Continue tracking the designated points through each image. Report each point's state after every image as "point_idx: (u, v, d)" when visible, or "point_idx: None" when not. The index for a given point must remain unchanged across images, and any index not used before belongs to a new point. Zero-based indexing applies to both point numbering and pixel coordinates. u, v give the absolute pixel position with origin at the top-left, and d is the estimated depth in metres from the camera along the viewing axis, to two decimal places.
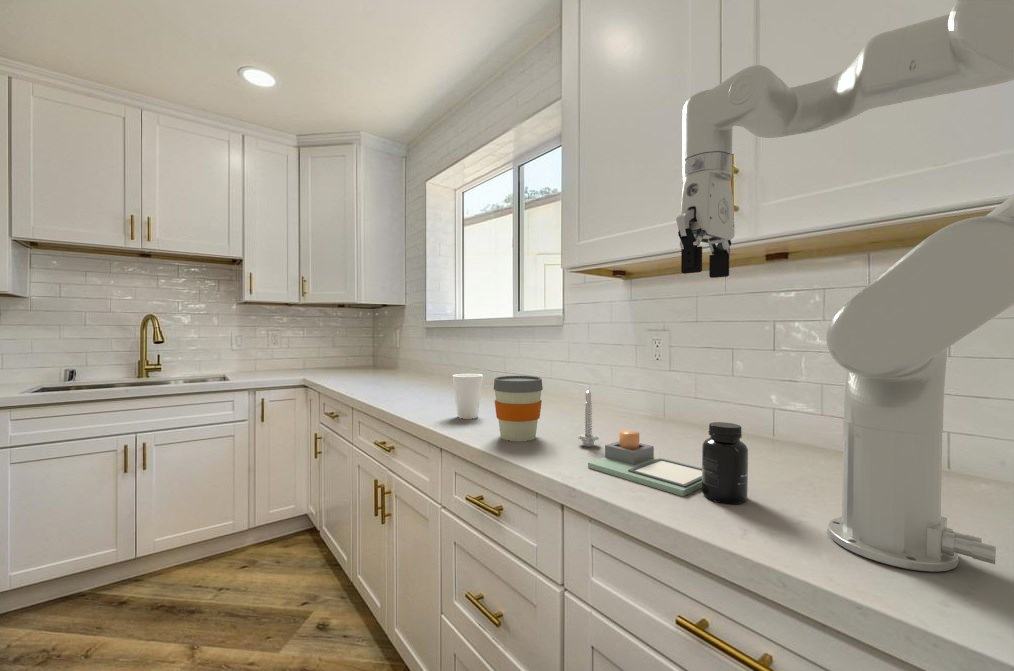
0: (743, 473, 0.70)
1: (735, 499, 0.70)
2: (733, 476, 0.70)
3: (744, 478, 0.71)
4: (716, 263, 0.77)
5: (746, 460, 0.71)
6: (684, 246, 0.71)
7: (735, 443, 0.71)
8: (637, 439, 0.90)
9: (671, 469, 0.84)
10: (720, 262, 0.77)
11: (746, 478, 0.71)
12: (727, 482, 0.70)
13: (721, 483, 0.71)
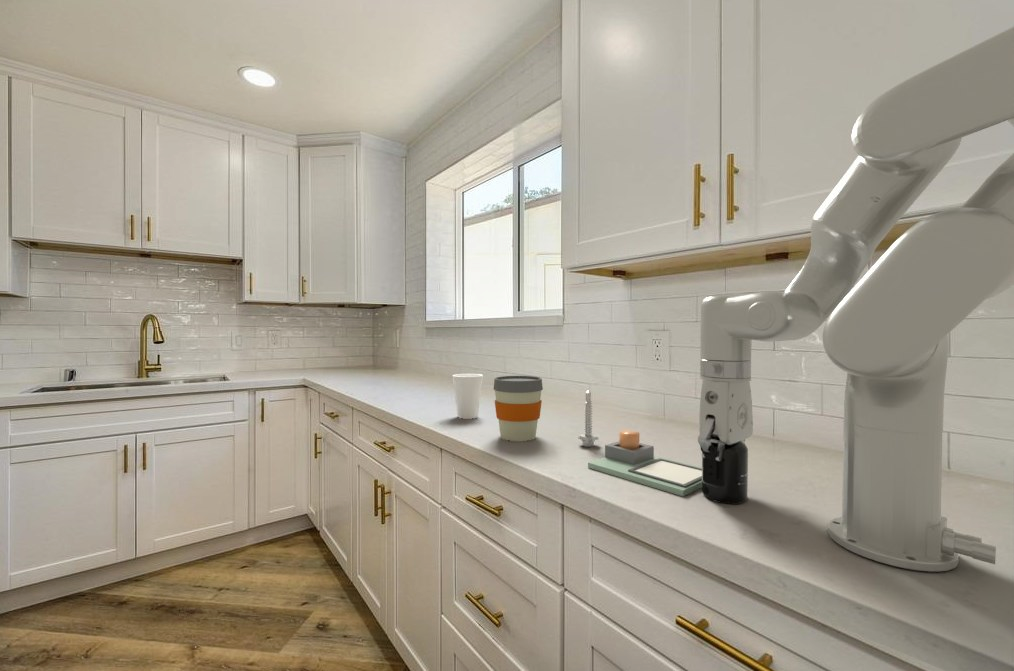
0: (743, 473, 0.70)
1: (735, 499, 0.70)
2: (733, 476, 0.70)
3: (744, 477, 0.71)
4: None
5: (746, 460, 0.71)
6: (706, 458, 0.71)
7: (735, 443, 0.71)
8: (637, 439, 0.90)
9: (671, 469, 0.84)
10: None
11: (746, 478, 0.71)
12: (727, 482, 0.70)
13: None
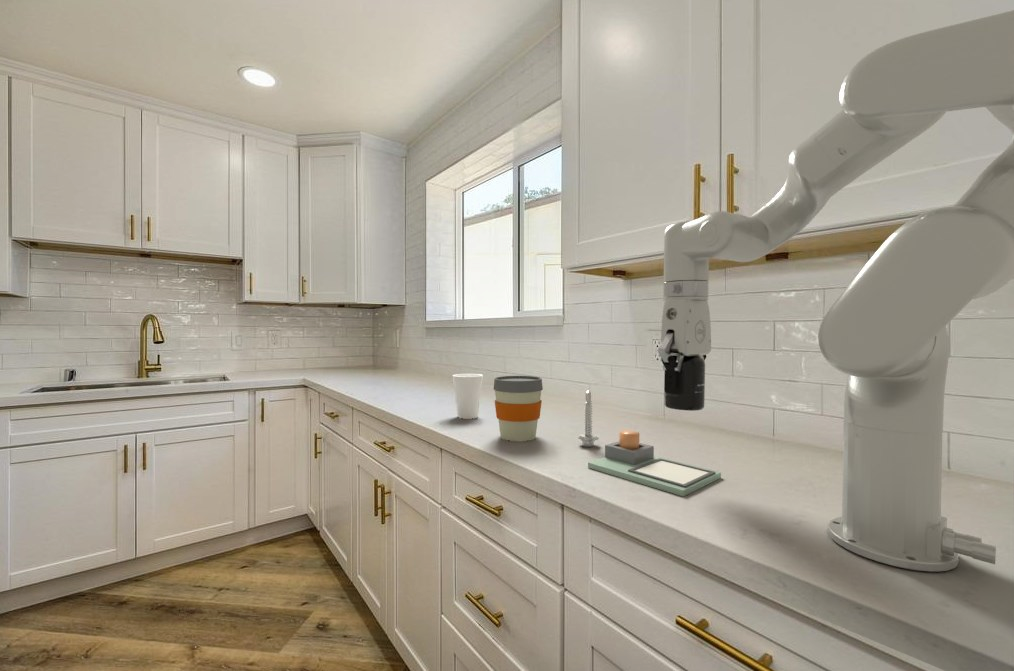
0: (700, 382, 0.78)
1: (692, 406, 0.77)
2: (691, 385, 0.77)
3: (701, 387, 0.78)
4: None
5: (703, 371, 0.78)
6: (667, 369, 0.78)
7: (693, 356, 0.78)
8: (637, 439, 0.90)
9: (671, 469, 0.84)
10: None
11: (703, 388, 0.78)
12: (685, 391, 0.77)
13: None
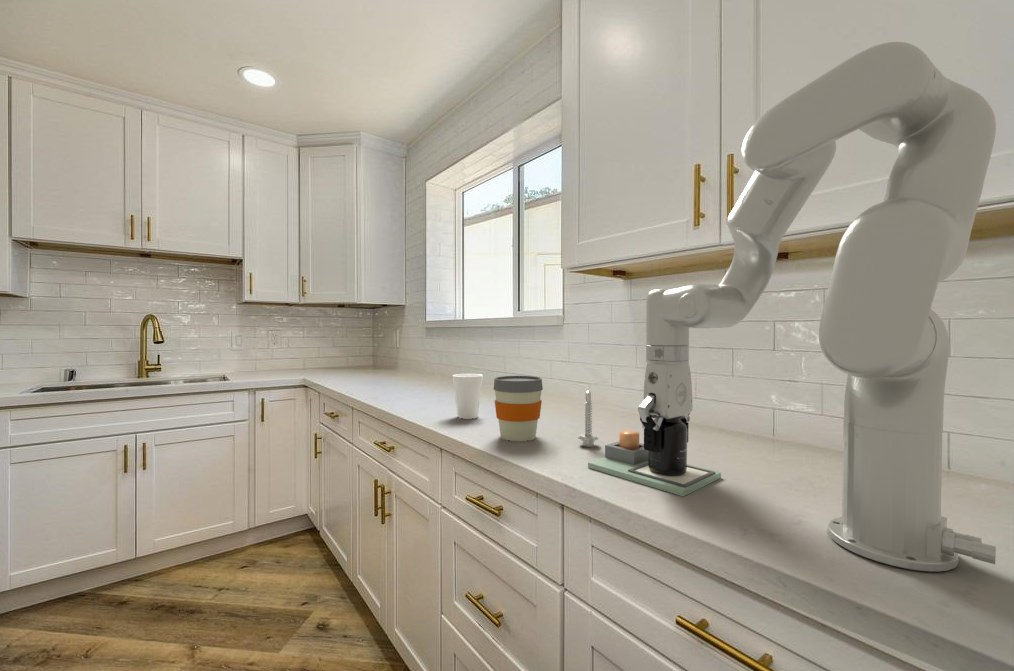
0: (682, 448, 0.80)
1: (674, 471, 0.80)
2: (673, 451, 0.80)
3: (683, 453, 0.80)
4: None
5: (685, 437, 0.81)
6: (646, 428, 0.80)
7: (675, 423, 0.81)
8: (637, 439, 0.90)
9: None
10: None
11: (685, 453, 0.81)
12: (667, 457, 0.80)
13: (663, 458, 0.80)
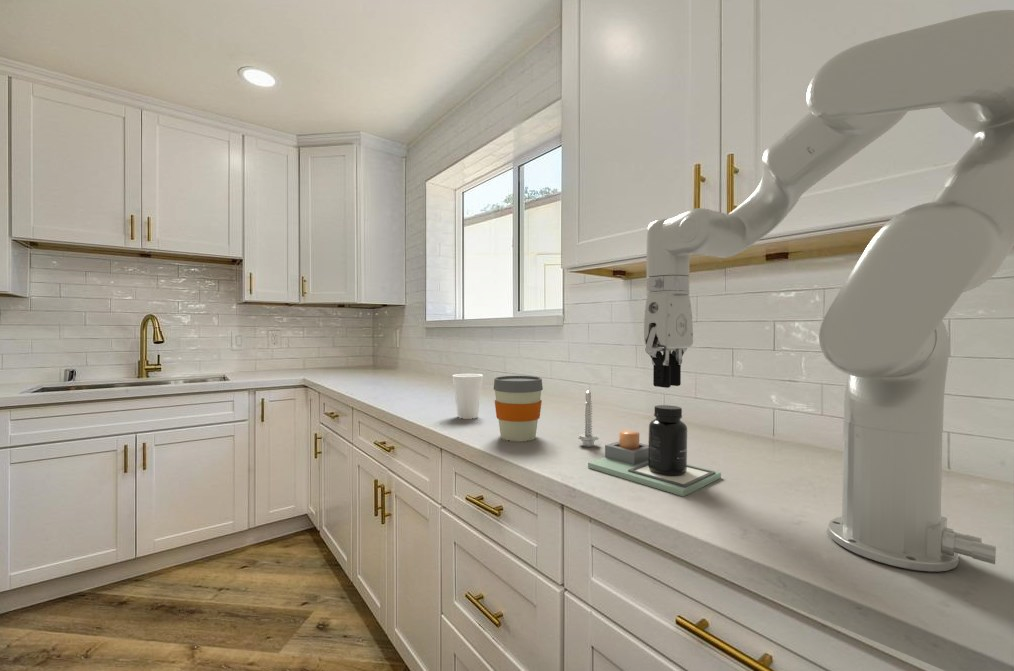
0: (682, 448, 0.80)
1: (674, 471, 0.80)
2: (673, 451, 0.80)
3: (683, 453, 0.80)
4: None
5: (685, 437, 0.81)
6: (655, 364, 0.82)
7: (675, 423, 0.81)
8: (637, 439, 0.90)
9: None
10: (672, 372, 0.84)
11: (685, 453, 0.81)
12: (667, 457, 0.80)
13: (663, 458, 0.80)
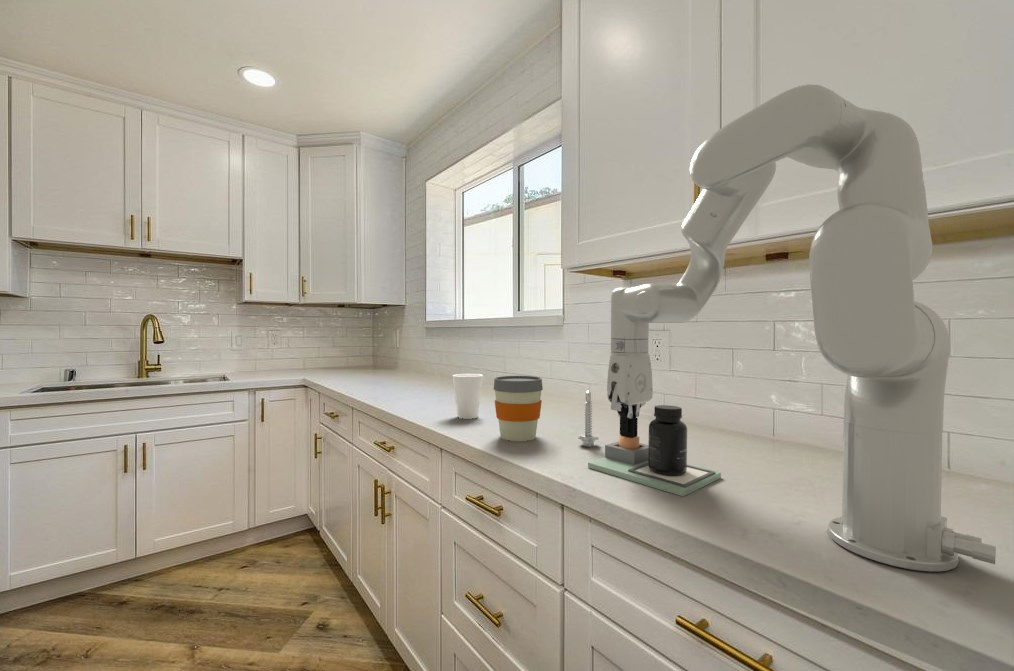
0: (682, 448, 0.80)
1: (674, 471, 0.80)
2: (673, 451, 0.80)
3: (683, 453, 0.80)
4: None
5: (685, 437, 0.81)
6: (621, 416, 0.92)
7: (675, 423, 0.81)
8: (637, 443, 0.90)
9: None
10: None
11: (685, 453, 0.81)
12: (667, 457, 0.80)
13: (663, 458, 0.80)
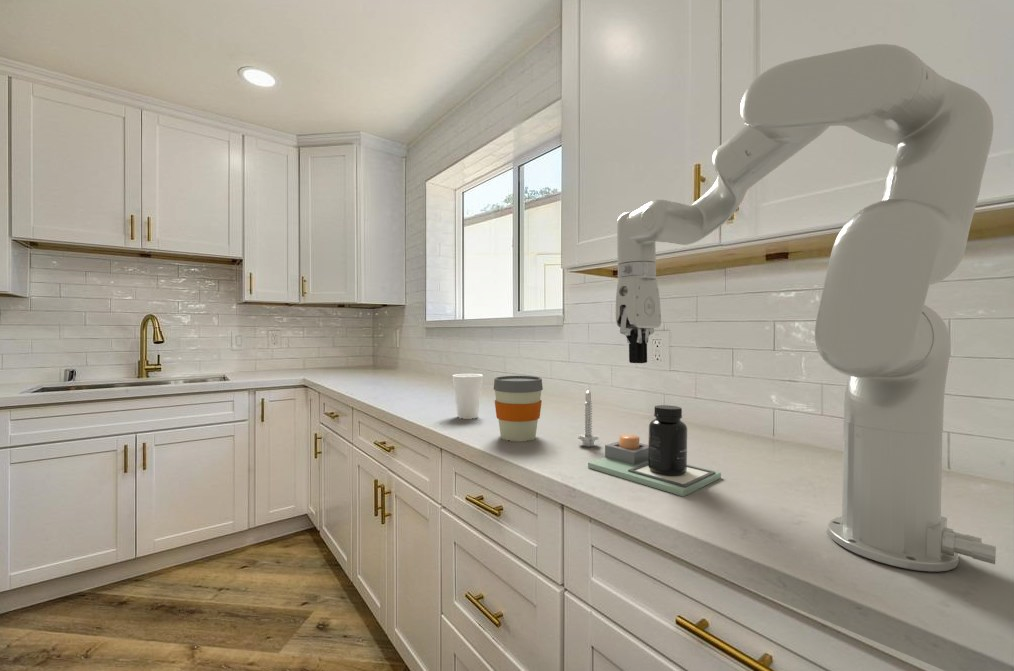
0: (682, 448, 0.80)
1: (674, 471, 0.80)
2: (673, 451, 0.80)
3: (683, 453, 0.80)
4: None
5: (685, 437, 0.81)
6: (630, 342, 0.91)
7: (675, 423, 0.81)
8: (637, 443, 0.90)
9: None
10: None
11: (685, 453, 0.81)
12: (667, 457, 0.80)
13: (663, 458, 0.80)
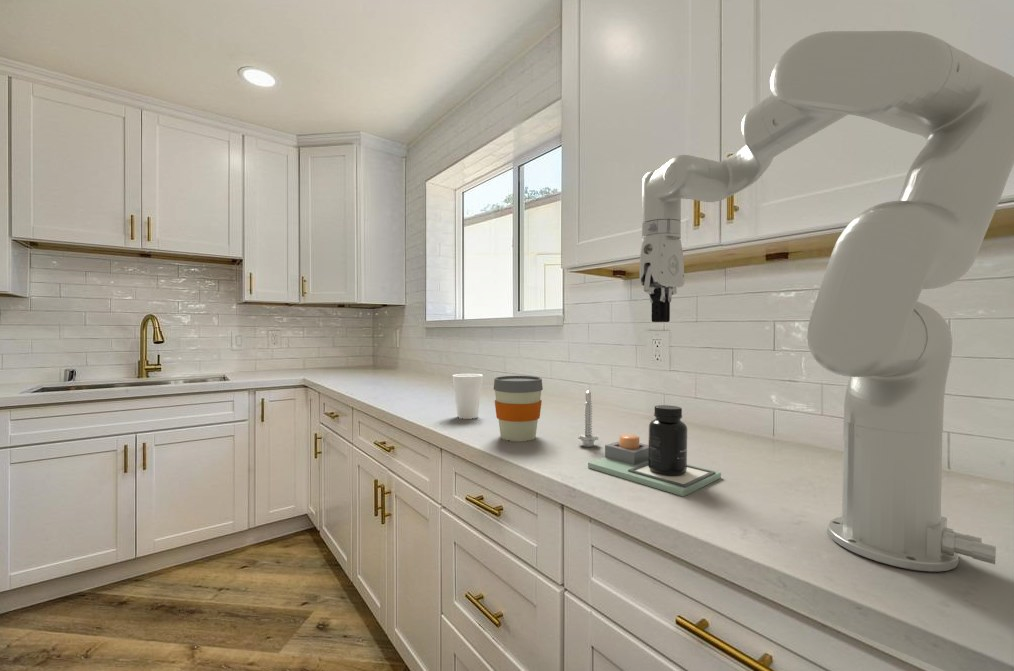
0: (682, 448, 0.80)
1: (674, 471, 0.80)
2: (673, 451, 0.80)
3: (683, 453, 0.80)
4: None
5: (685, 437, 0.81)
6: (653, 301, 0.91)
7: (675, 423, 0.81)
8: (637, 443, 0.90)
9: None
10: None
11: (685, 453, 0.81)
12: (667, 457, 0.80)
13: (663, 458, 0.80)
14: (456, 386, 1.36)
